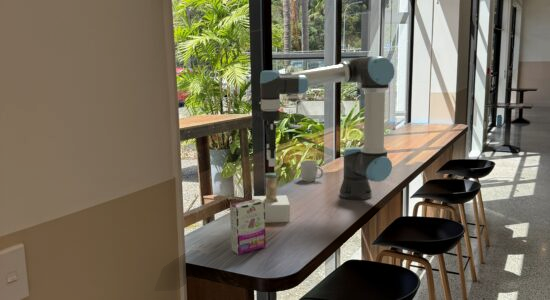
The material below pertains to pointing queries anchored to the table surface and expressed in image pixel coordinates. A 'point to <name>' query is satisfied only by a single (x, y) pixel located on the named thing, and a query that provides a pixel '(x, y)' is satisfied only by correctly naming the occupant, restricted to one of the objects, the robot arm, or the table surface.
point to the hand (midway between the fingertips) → (271, 162)
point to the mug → (310, 171)
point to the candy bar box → (247, 226)
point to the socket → (276, 209)
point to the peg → (270, 187)
